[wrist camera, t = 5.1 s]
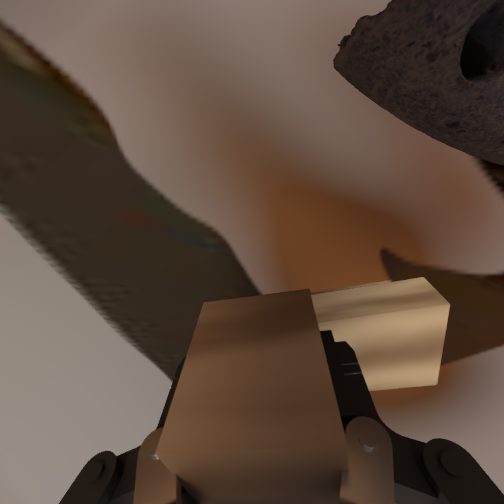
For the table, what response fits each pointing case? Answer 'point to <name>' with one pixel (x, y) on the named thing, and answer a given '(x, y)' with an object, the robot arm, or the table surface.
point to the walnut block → (256, 407)
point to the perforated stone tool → (434, 69)
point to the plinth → (388, 329)
